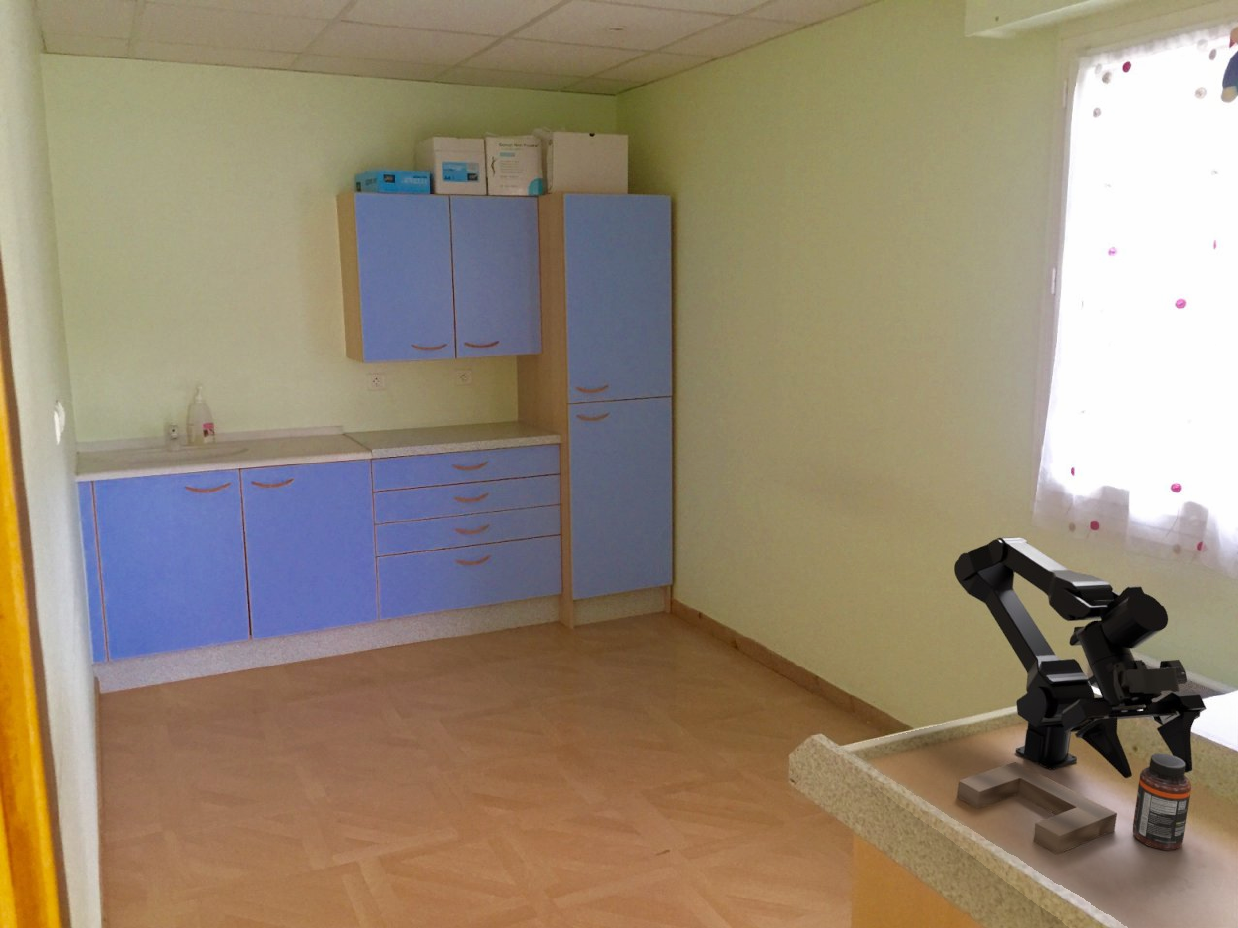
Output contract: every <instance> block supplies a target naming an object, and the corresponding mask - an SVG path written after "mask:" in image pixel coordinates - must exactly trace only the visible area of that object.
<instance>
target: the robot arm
mask: <svg viewBox="0 0 1238 928" xmlns="http://www.w3.org/2000/svg"><path fill="white" fill-rule="evenodd" d="M953 572H954V575H955V578H956V579H957V582H958V583H959V584H960V586H961V587H962V588H963V589H964V591H966V593H967V594H968V595H969V596H971V597H973V598H975V599H976V600H978V601H980V602H982V603H983V604H985V605H986V607H987V609H988V611H989V612H990V614H991V616H992V617H993V618H994V620H995V622H996V624H997V625H998V627H999V629H1000V630H1001V632H1002V634H1003V635H1004V636H1005V638H1006V640H1007V641H1008V643H1009V645H1010V647H1011V648H1012V650H1013V652H1014V653H1015V655H1016V656H1017V658H1018V660H1019V661H1020V663H1021V665H1022V666H1023V668H1024V669H1025V672H1026V673H1027V676H1026V677H1027V678H1026V687H1025V690H1026V693H1025V694H1024V695H1022V696H1021V697H1019V698H1018V699H1016V711H1017V713H1016V714H1017V715H1018V716H1019V717H1021V718H1022V719H1024V720H1025V721H1026V722H1027V729H1026V730H1025V739H1024V745H1023V746H1020V747H1017V748H1015V753H1016V754H1017V755H1018V754H1019V755H1020V756H1022V757H1025V758H1027V759H1028V760H1030V761H1032V762H1035V763H1036V764H1039V765H1040V766H1043V767H1044V768H1046V769H1049V770H1054V769H1055V770H1056V769H1057V768H1061V767H1062V766H1063V767H1064V766H1066V765H1069V764H1072V763H1074V762H1077V761H1078V757H1077V756H1075V755H1073V754H1072V753H1069V749H1070V742H1071V737H1072V736H1071V735H1072V733H1074V735H1075V737H1076V738H1077V739H1082V740H1083V741H1084V742H1086V743H1087V744H1088V745H1089V746H1090V747H1092V748H1093V749H1094V750H1096V751H1097V752H1098V753H1099V755H1101V756H1102V757H1103V758H1104V759H1105V760H1106V761H1107V762H1108V763H1109V764H1110V765H1111V766H1112V767H1113V768H1114V769H1115V770H1116V771H1117V772H1118V773H1119V774H1120V775H1121V776H1123V778H1124V779H1129V778H1132V776H1133V773H1132V769H1131V767H1130V764H1129V761H1128V757H1127V755H1126V753H1125V751H1124V748H1123V746H1122V743H1121V741H1120V738H1119V735H1118V720H1126V719H1138V718H1139V719H1140V718H1153V720H1154V721H1155V722H1156V723H1158V724H1159V725H1160V726H1158V727H1157V728H1156V730H1157V732H1158V733H1159V735H1160V736H1161V738H1162V740H1163V741H1164V743H1165V744H1166V746H1167V748H1168V750H1169V751H1170V753H1171V755H1173V756H1176V757H1178V758H1180V759H1181V760H1183V761H1184V762H1185V764H1186V766H1185V773H1186V774H1187V773H1188V774H1189V773H1190V772H1192V771H1193V762H1192V761H1193V760H1192V745H1191V744H1192V742H1191V735H1192V734H1191V732H1192V727H1193V723H1194V722H1195V720H1197V719H1198V718H1201V713H1203V712H1204V711H1206V710H1207V707H1206V704H1205V701H1204V700H1203V698H1202V696H1201V694H1200V693H1198V692H1196V691H1194V690H1185V691H1181V690H1180V687H1179V685H1184V684H1186V683H1187V682H1188V678H1187V677H1188V676H1187V672H1186V669H1185V667H1184V665H1183V664H1182V662H1181V661H1180V659H1173V660H1169V659H1168V660H1161V661H1160V664H1159V667H1158V668H1157V667H1155V668H1148V667H1147V665H1146V663H1145V662H1144V661H1143V660H1142V659H1141V660H1135V657H1134V656H1133V653H1132V651H1131V649H1135V648H1139V647H1140V646H1141V645H1142V644H1144V643H1145V642H1147V641H1148V640H1150V639H1151V638H1153V637H1154V636H1155V635H1157V634H1158V633H1160V632H1161V631H1163V630H1164V629H1165V628H1167V626H1168V623H1169V615H1168V611H1167V609H1166V608H1165V606H1164V605H1162V604H1161V602H1159V601H1158V600H1157V599H1156V598H1155V597H1153V596H1151V595H1149V594H1147V593H1145V592H1144V589H1143V588H1142V586H1139V585H1136V586H1127V587H1126V588H1125V589H1123V590H1122V591H1121V593H1118V592H1117V591H1116V590H1114V588H1113V587H1112V585H1111V584H1110V583H1109V582H1108V581H1107V580H1105V579H1102V578H1099V577H1097V576H1094V575H1091V574H1086V573H1081V572H1077V571H1076V572H1075V571H1073V570H1070V569H1068V567H1067V568H1066V567H1065V566H1063V565H1062V564H1060V563H1059V562H1057V561H1056V560H1054V559H1053V558H1051V557H1049V555H1046V554H1044V553H1043V552H1041V551H1040V550H1039V549H1037V548H1035V547H1034V546H1033V545H1031V544H1029V543H1028V541H1027V540H1026V539H1025V538H1022V537H1019V536H1012V537H1011V536H1010V537H998V538H995V539H993V540H991V541H990V542H988V543H987V544H985V545H983V546H980V547H977V548H975V549H972V550H969V551H968V552H963V553H961V554H960V555H959V557H958V559H957V560H956V561H955V562H954V568H953ZM1015 573H1016V574H1017V575H1018V576H1020V577H1021V578H1023V579H1024V580H1026V581H1027V582H1029V584H1032V585H1033V586H1034V587H1036V588H1037V589H1039V590H1040V591H1041V592H1043V593H1044V594H1045V595H1046V596H1047V598H1048V599H1047V600H1048V604H1049V606H1050V607H1051V608H1052V609H1053V611H1055V612H1056V613H1057V614H1058V615H1059V616H1060V617H1061V618H1062V619H1063V620H1066V621H1067V622H1074V621H1075V622H1077V621H1079V622H1080V621H1090V622H1088V623H1087V624H1086V625H1085V626H1084V625H1083V626H1074V628H1073V634H1071V636H1070V638H1069V645H1070V646H1073V647H1075V646H1081V648H1082V651H1083V653H1084V655H1085V657H1086V660H1087V663H1088V666H1089V667H1090V670H1091V673H1092V674H1093V675H1092V676H1090V677H1089V676H1087V675H1086V674H1085V672H1084V670H1083V668H1082V667H1081V665H1080V663H1079V662H1078V660H1076V659H1075V658H1067V659H1061V658H1059V657H1058V656H1057V654H1056V653H1055V652H1054V650H1053V648H1052V647H1051V645H1050V644H1049V642H1048V641H1047V639H1046V638H1045V636H1044V635H1043V633H1042V632H1041V630H1040V629H1039V627H1038V626H1037V624H1036V621H1034V619H1033V617H1032V616H1031V614H1030V613H1029V612H1028V610H1027V608H1026V606H1025V605H1024V603H1023V602H1022V600H1021V599H1020V598H1019V596H1018V595H1017V593H1016V592H1015V590H1014V579H1015ZM1092 686H1097V687H1098V689H1099V692H1100V695H1101V697H1095V691H1094V689H1093V687H1092ZM1162 692H1170V693H1169V694H1167V695H1165V696H1163V697H1162V698H1160V699H1159V700H1157V701H1153V700H1154V699H1158V698H1159V697H1161V696H1162V695H1163V693H1162Z"/></svg>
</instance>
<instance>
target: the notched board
mask: <svg viewBox="0 0 1238 928" xmlns="http://www.w3.org/2000/svg"><path fill="white" fill-rule="evenodd" d="M957 785H958V786H957V787H958V788H957V794H956V796H957V798H958V799H960V800H962V801H963V802H965V803H967V804H969V805H970V806H972V807H973V808H976V809H977V810H978V809H980V808H983V807H985V806H986V807H987V806H989V805H992V804H994V803H997V802H1000V801H1002V800H1006V799H1009V798H1011V797H1013V796H1017V795H1019V796H1021V797H1023V798H1025V799H1027V800H1029V802H1032V803H1034V804H1036V805H1038V806H1040V807H1041V808H1044V809H1045V810H1047V811H1049V812H1050V813H1052V814H1055V815H1053V816H1051V817H1048V818H1045V819H1043V820H1040V821H1037V822H1035V827H1034V834H1033V841H1034V842H1036V843H1037V844H1039V845H1040V846H1042V847H1044V848H1045V849H1047V850H1050V851H1051V852H1052V853H1054V854H1056V855H1058V854H1061V853H1063V852H1065V851H1067V850H1071V849H1073V848H1075V847H1078V846H1080V845H1082V844H1085V843H1087V842H1090V841H1092V840H1094V839H1097V838H1099V837H1102V836H1104V835H1107V834H1109V833H1112V832H1114V831H1115V830H1116V824H1117V816H1118V813H1117V812H1116V811H1114V810H1111V809H1110V808H1108V807H1106V806H1103V805H1102V804H1099V803H1098V802H1096V801H1094V800H1092V799H1090V798H1088V797H1086V796H1084V795H1082V794H1080V793H1078V792H1076V791H1074V790H1072V789H1070V788H1068V787H1066V786H1065V785H1062V784H1061V783H1059V782H1056V781H1054V780H1052V779H1051V778H1049V777H1047V776H1045V775H1043V774H1040V773H1039V772H1036V771H1034V770H1033V769H1031V768H1029V767H1027V766H1025V765H1023V764H1021V763H1019V762H1017V761H1014V762H1011V763H1008V764H1004V765H1002V766H998V767H995V768H992V769H990V770H989V769H988V770H987V771H984V772H980V773H977V774H975V775H971V776H968V777H965V778H963V779H959V780H958V784H957Z"/></svg>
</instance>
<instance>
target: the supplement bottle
mask: <svg viewBox="0 0 1238 928" xmlns="http://www.w3.org/2000/svg"><path fill="white" fill-rule="evenodd" d="M1185 766H1186V764H1185V762H1184V761H1183V760H1181V759H1180V758H1178V757H1176V756H1173V754H1169V753H1163V752H1157V753H1153V754H1152V755H1151V756H1150V760H1149V766H1148V767H1144V768H1143V769H1142V770H1141V772H1140V775H1139V780H1138V785H1137V793H1136V801H1135V809H1134V815H1133V822H1132V833H1133V835H1134V837H1135V838H1136V839H1137V840H1138V841H1139V842H1141V843H1143V844H1145V845H1147V846H1148V847H1151V848H1155V849H1157V850H1164V851H1168V850H1169V851H1170V850H1171V851H1172V850H1177V849H1179V848H1181V847H1182V845H1183V841H1184V838H1185V837H1184V836H1185V830H1186V824H1187V816H1188V810H1189V804H1190V800H1191V799H1190V798H1191V791H1192V784H1191V782H1190V780H1189V778H1188V777H1187V776H1186V775H1185Z"/></svg>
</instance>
